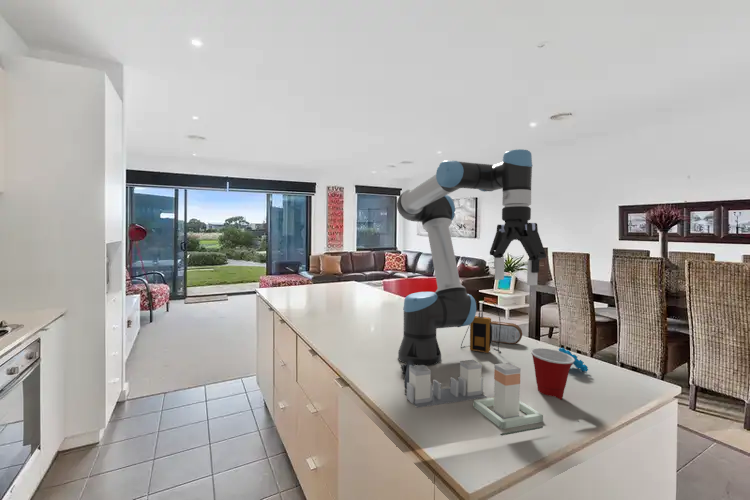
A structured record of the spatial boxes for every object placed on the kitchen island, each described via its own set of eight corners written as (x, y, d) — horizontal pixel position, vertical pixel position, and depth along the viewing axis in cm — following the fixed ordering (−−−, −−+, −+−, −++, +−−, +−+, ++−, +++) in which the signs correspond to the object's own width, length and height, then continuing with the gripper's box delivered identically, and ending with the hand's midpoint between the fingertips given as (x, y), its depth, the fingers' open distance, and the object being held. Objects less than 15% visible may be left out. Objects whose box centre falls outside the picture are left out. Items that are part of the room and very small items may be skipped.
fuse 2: (459, 390, 98) (459, 361, 98) (472, 388, 100) (473, 359, 99) (467, 396, 94) (468, 366, 94) (481, 394, 96) (481, 364, 95)
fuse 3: (493, 413, 86) (494, 364, 86) (507, 411, 88) (508, 362, 87) (504, 422, 83) (505, 370, 82) (519, 419, 84) (520, 368, 84)
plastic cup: (572, 410, 91) (573, 362, 90) (526, 399, 96) (527, 355, 96) (575, 394, 100) (576, 351, 99) (532, 385, 105) (533, 345, 105)
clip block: (402, 399, 95) (403, 379, 95) (471, 390, 102) (471, 371, 102) (415, 413, 88) (415, 391, 88) (488, 402, 94) (488, 381, 94)
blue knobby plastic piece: (596, 371, 113) (572, 348, 114) (583, 385, 112) (560, 362, 113) (575, 364, 124) (554, 343, 125) (564, 377, 123) (542, 355, 124)
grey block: (408, 396, 94) (409, 366, 93) (423, 394, 95) (423, 364, 95) (415, 403, 90) (415, 371, 90) (430, 401, 91) (430, 370, 91)
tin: (522, 344, 149) (522, 323, 148) (521, 346, 146) (522, 325, 146) (484, 339, 155) (484, 319, 155) (483, 341, 152) (483, 321, 152)
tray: (473, 412, 89) (473, 400, 89) (510, 406, 92) (510, 394, 92) (501, 435, 78) (502, 422, 78) (542, 428, 82) (543, 414, 82)
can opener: (401, 374, 114) (402, 357, 113) (424, 376, 112) (424, 358, 112) (393, 399, 96) (393, 378, 96) (419, 401, 95) (420, 380, 95)
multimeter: (504, 348, 142) (505, 298, 141) (498, 355, 133) (499, 301, 133) (468, 342, 150) (469, 294, 149) (460, 348, 141) (460, 298, 141)
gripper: (478, 209, 112) (477, 277, 112) (538, 201, 88) (536, 288, 89) (499, 210, 114) (497, 277, 115) (562, 203, 90) (560, 287, 91)
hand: (514, 282), depth 102 cm, fingers open, 13 cm apart
